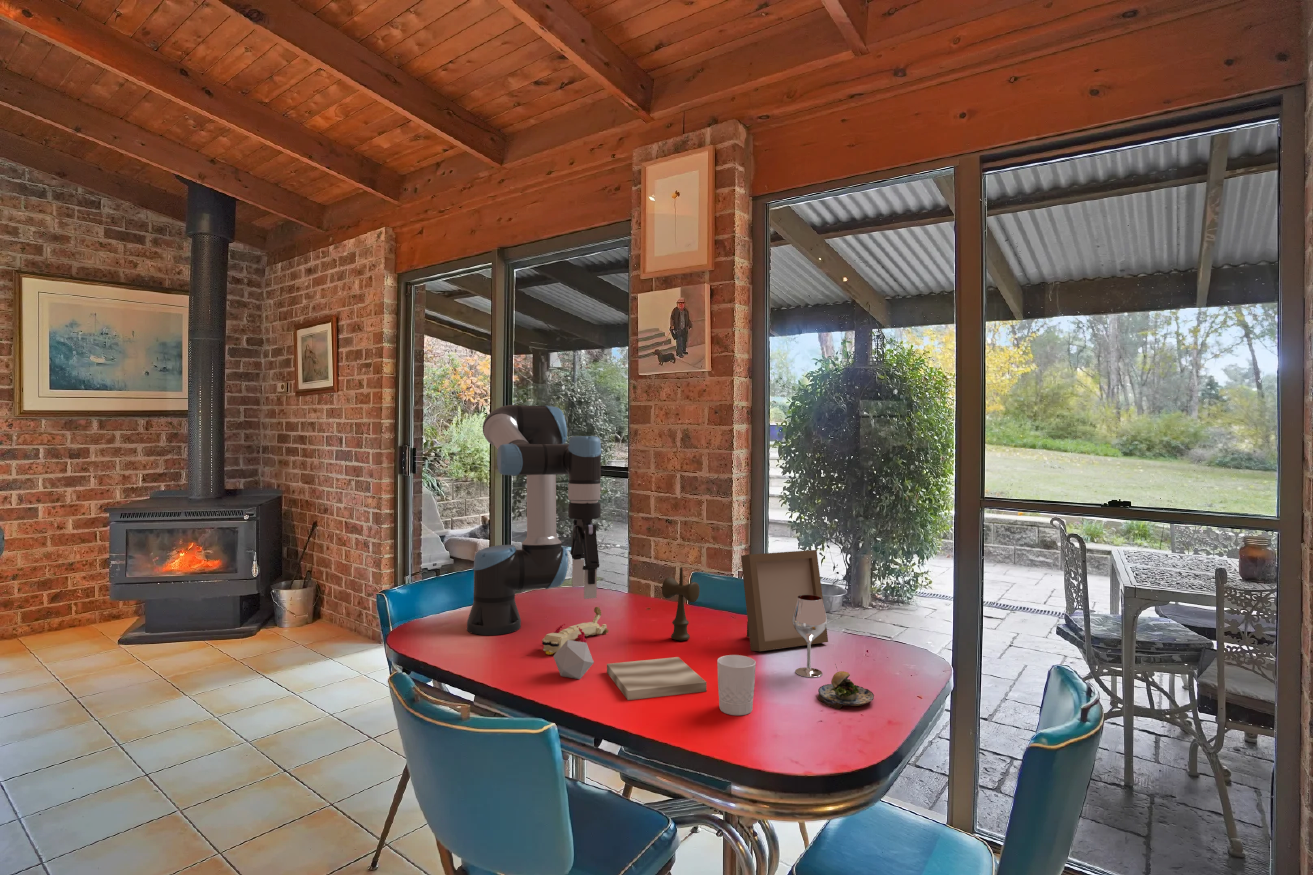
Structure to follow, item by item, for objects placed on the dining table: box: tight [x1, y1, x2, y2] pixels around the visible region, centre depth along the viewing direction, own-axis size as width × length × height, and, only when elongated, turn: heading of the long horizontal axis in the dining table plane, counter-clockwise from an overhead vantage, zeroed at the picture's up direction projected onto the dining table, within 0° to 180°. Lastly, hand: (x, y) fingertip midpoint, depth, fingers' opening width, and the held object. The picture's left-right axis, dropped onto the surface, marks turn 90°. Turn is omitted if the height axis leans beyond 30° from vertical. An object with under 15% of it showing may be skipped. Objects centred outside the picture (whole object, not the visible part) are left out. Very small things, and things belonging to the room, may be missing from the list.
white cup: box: [716, 654, 757, 716], centre depth 143 cm, size 8×8×10 cm
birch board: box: [606, 656, 707, 701], centre depth 158 cm, size 18×18×2 cm
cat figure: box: [541, 606, 609, 655], centre depth 186 cm, size 10×9×25 cm
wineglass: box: [792, 595, 828, 678], centre depth 165 cm, size 8×8×18 cm
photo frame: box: [740, 549, 829, 652], centre depth 190 cm, size 15×22×25 cm
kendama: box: [661, 566, 701, 642], centre depth 191 cm, size 6×10×20 cm, turn 51°
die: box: [552, 640, 595, 680], centre depth 162 cm, size 8×9×10 cm
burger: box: [817, 663, 875, 710], centre depth 149 cm, size 12×12×8 cm
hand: (583, 592), depth 163 cm, fingers open, 13 cm apart
